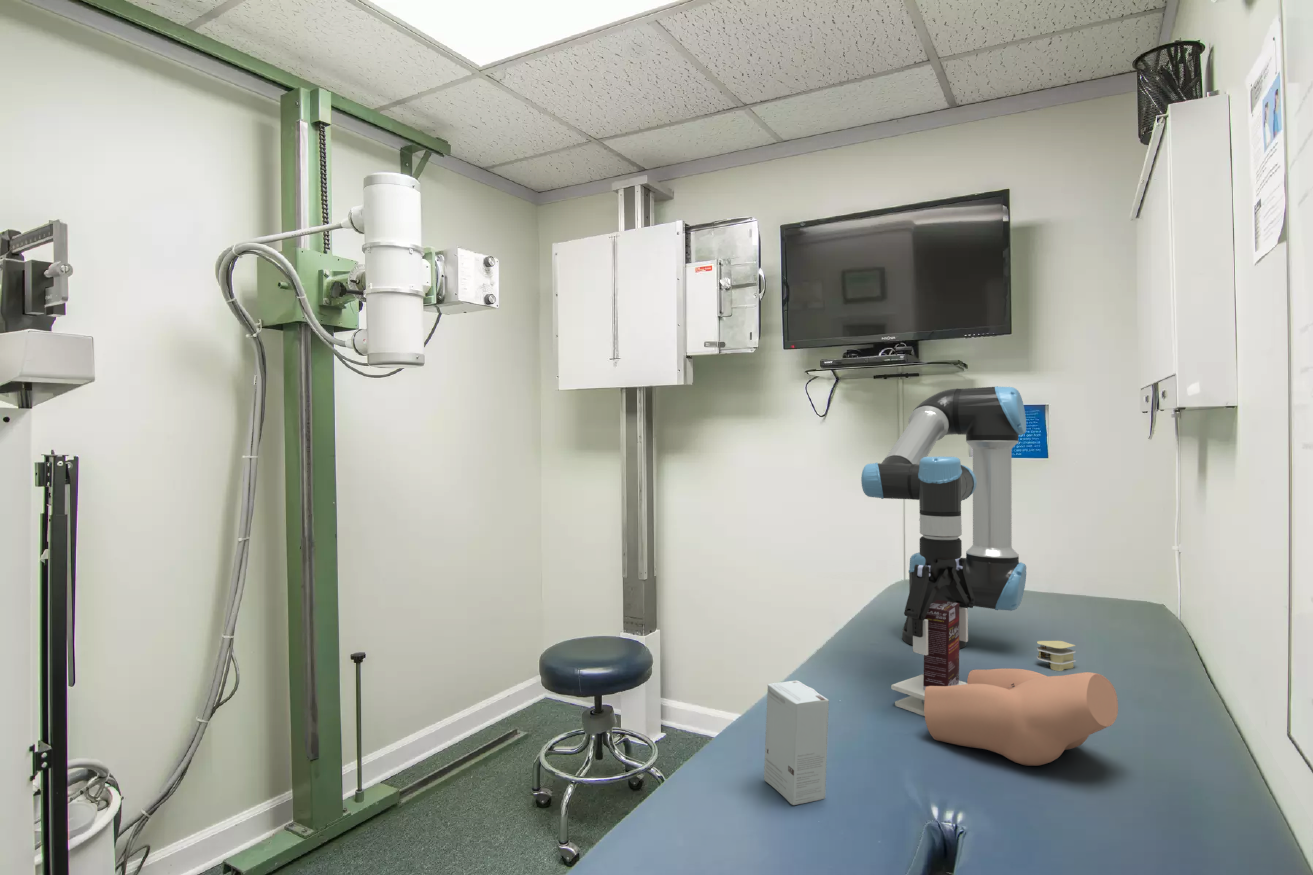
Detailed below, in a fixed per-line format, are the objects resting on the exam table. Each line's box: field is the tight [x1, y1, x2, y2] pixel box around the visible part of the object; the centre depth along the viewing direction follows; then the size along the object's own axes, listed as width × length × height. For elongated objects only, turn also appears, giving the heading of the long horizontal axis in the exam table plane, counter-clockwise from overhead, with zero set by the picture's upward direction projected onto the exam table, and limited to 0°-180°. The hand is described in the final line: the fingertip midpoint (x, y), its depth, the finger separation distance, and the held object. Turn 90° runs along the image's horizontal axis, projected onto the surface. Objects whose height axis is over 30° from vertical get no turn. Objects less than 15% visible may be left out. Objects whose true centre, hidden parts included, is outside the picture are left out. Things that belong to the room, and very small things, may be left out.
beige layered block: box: [1036, 640, 1077, 672], centre depth 157 cm, size 10×9×6 cm
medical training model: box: [924, 668, 1119, 767], centre depth 115 cm, size 21×25×13 cm
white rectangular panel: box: [890, 673, 967, 717], centre depth 133 cm, size 13×13×4 cm
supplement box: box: [923, 600, 960, 690], centre depth 133 cm, size 9×5×16 cm, turn 143°
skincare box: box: [763, 680, 830, 806], centre depth 102 cm, size 8×6×15 cm
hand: (941, 646), depth 133 cm, fingers open, 13 cm apart
